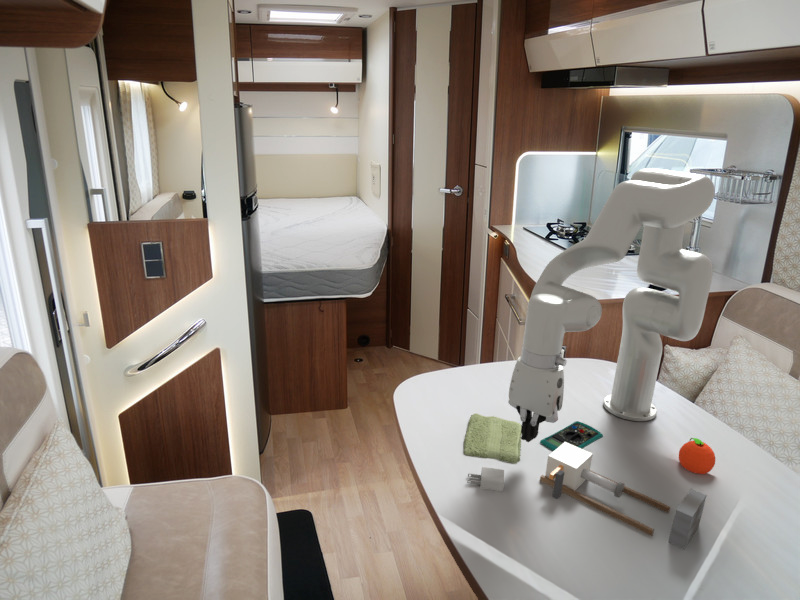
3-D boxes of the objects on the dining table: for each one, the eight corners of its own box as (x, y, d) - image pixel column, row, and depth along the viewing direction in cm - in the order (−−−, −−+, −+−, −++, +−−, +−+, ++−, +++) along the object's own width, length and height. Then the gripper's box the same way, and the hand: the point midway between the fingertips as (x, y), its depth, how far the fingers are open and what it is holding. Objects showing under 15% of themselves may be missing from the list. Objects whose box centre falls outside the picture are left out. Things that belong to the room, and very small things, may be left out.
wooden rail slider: (553, 459, 127) (558, 426, 124) (701, 528, 108) (711, 490, 106) (519, 488, 117) (523, 453, 114) (675, 569, 98) (685, 529, 96)
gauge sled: (561, 464, 123) (565, 441, 121) (626, 494, 114) (631, 470, 112) (534, 488, 115) (537, 464, 113) (601, 522, 106) (606, 497, 104)
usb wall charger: (502, 497, 114) (504, 480, 113) (466, 493, 115) (467, 475, 114) (502, 485, 118) (504, 468, 116) (467, 480, 119) (468, 463, 117)
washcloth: (523, 428, 139) (524, 416, 138) (521, 472, 123) (522, 459, 122) (467, 420, 142) (468, 408, 140) (458, 462, 125) (459, 449, 124)
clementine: (668, 458, 129) (675, 429, 127) (701, 460, 129) (708, 431, 127) (683, 480, 122) (690, 450, 119) (717, 482, 121) (725, 453, 119)
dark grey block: (556, 492, 114) (560, 469, 112) (560, 494, 113) (564, 471, 112) (552, 496, 113) (556, 473, 111) (556, 498, 112) (560, 475, 110)
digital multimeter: (603, 442, 135) (605, 431, 134) (565, 465, 126) (567, 454, 125) (575, 428, 140) (577, 417, 139) (537, 450, 131) (539, 438, 130)
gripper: (584, 363, 114) (570, 446, 120) (517, 340, 123) (507, 418, 129) (566, 375, 109) (552, 461, 114) (497, 350, 118) (487, 430, 124)
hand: (528, 438), depth 122 cm, fingers closed
